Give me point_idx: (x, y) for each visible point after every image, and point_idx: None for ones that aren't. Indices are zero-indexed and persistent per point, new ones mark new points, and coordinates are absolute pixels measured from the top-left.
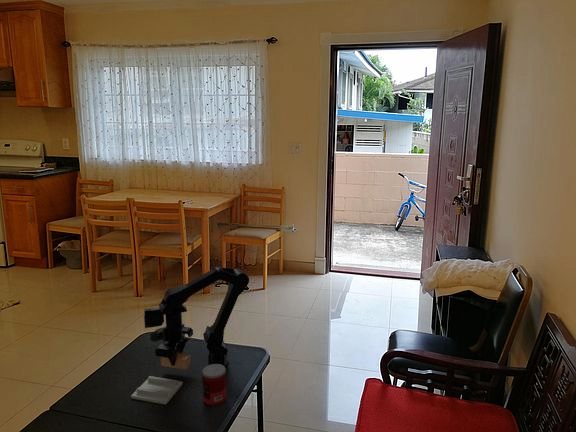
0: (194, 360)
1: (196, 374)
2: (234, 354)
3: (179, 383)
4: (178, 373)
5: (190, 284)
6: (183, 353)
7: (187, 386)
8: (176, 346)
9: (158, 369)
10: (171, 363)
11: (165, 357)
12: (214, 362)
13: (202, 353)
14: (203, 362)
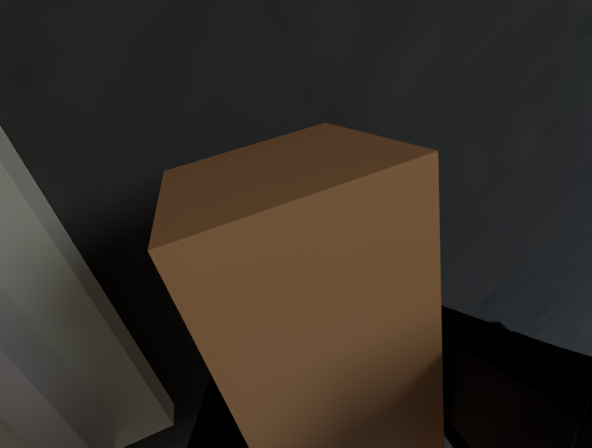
0: (472, 224)
1: None
2: (560, 346)
3: (137, 430)
4: None
5: None
6: (438, 446)
7: (177, 438)
8: (573, 446)
9: (222, 28)
10: (214, 388)
11: (203, 353)
12: (449, 432)
13: (559, 201)
14: (463, 290)
